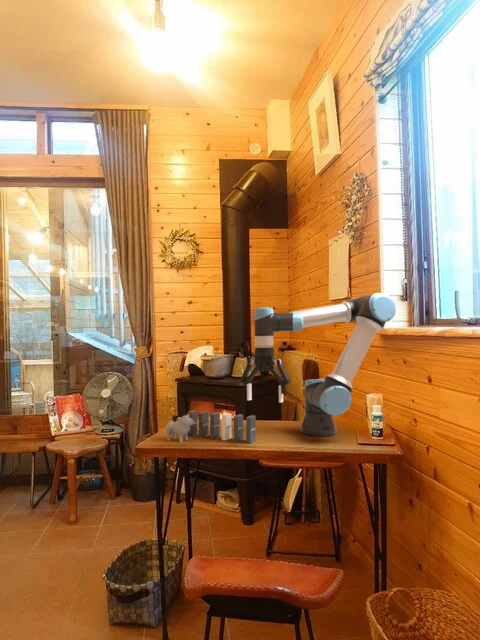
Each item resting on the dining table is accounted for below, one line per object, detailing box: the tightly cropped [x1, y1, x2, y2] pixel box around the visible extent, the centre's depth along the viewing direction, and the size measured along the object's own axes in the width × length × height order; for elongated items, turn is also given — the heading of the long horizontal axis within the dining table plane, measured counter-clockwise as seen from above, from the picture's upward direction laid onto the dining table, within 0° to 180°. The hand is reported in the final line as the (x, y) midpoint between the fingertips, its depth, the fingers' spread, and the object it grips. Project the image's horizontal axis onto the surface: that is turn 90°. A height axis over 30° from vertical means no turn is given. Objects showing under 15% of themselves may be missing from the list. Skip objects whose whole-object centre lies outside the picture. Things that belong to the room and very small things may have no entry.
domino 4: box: [233, 413, 245, 443], centre depth 181 cm, size 2×5×10 cm, turn 153°
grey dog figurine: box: [165, 413, 194, 443], centre depth 182 cm, size 5×13×11 cm, turn 57°
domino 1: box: [187, 409, 199, 437], centre depth 191 cm, size 2×5×10 cm, turn 153°
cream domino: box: [221, 412, 233, 441], centre depth 184 cm, size 2×5×10 cm, turn 153°
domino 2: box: [198, 410, 210, 438], centre depth 189 cm, size 2×5×10 cm, turn 153°
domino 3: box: [209, 411, 221, 440], centre depth 186 cm, size 2×5×10 cm, turn 153°
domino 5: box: [245, 414, 257, 444], centre depth 179 cm, size 2×5×10 cm, turn 153°
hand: (265, 401), depth 177 cm, fingers open, 13 cm apart
